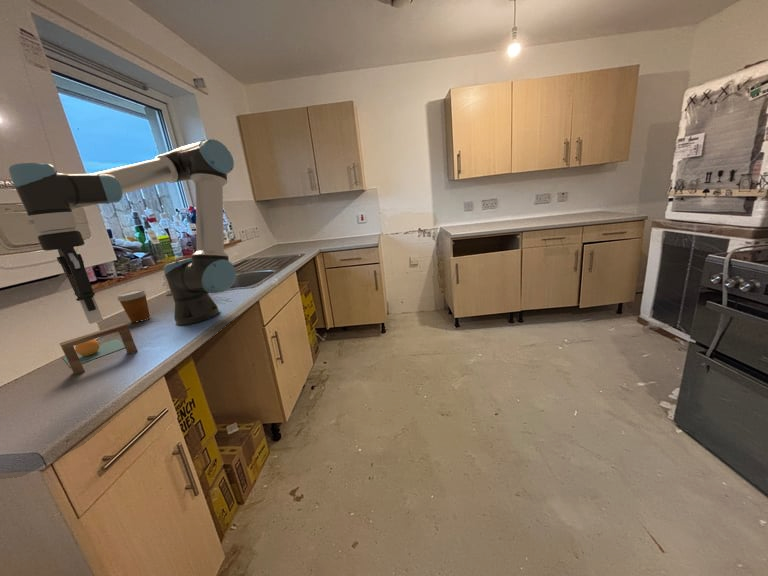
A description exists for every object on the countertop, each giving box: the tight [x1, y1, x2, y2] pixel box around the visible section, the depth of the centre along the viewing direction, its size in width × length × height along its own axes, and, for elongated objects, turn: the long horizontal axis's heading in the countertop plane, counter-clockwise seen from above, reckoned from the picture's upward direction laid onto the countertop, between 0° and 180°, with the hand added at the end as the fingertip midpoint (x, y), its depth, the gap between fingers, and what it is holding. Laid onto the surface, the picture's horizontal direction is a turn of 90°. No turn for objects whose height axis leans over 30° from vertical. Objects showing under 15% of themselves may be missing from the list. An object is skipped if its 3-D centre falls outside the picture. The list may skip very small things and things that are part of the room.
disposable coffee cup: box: [116, 288, 151, 323], centre depth 127 cm, size 10×10×12 cm
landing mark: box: [62, 338, 125, 367], centre depth 100 cm, size 14×14×1 cm
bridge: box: [59, 322, 138, 376], centre depth 91 cm, size 3×14×9 cm, turn 143°
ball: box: [74, 339, 100, 356], centre depth 98 cm, size 6×6×6 cm
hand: (96, 321), depth 82 cm, fingers closed
